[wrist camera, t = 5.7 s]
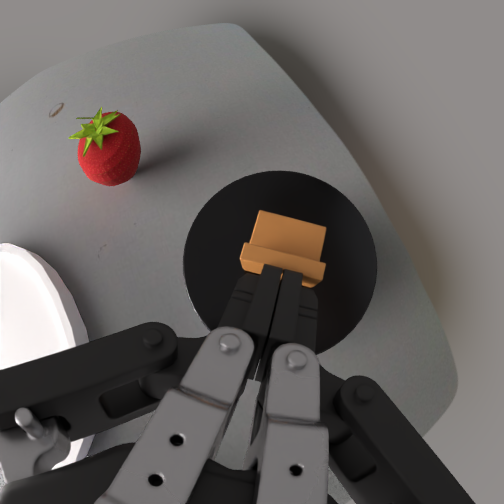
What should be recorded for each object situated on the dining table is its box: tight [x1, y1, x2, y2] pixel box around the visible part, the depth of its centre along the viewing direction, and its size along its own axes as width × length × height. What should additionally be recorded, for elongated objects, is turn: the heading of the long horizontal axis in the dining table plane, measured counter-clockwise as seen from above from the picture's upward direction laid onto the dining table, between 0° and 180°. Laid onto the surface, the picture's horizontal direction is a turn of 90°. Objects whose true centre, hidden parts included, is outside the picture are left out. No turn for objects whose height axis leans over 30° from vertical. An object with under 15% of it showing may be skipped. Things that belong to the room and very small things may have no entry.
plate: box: [0, 243, 95, 470], centre depth 21 cm, size 28×28×2 cm
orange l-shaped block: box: [240, 210, 326, 287], centre depth 12 cm, size 3×3×2 cm
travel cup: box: [183, 171, 377, 359], centre depth 19 cm, size 9×9×11 cm
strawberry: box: [69, 107, 141, 186], centre depth 22 cm, size 6×8×10 cm
